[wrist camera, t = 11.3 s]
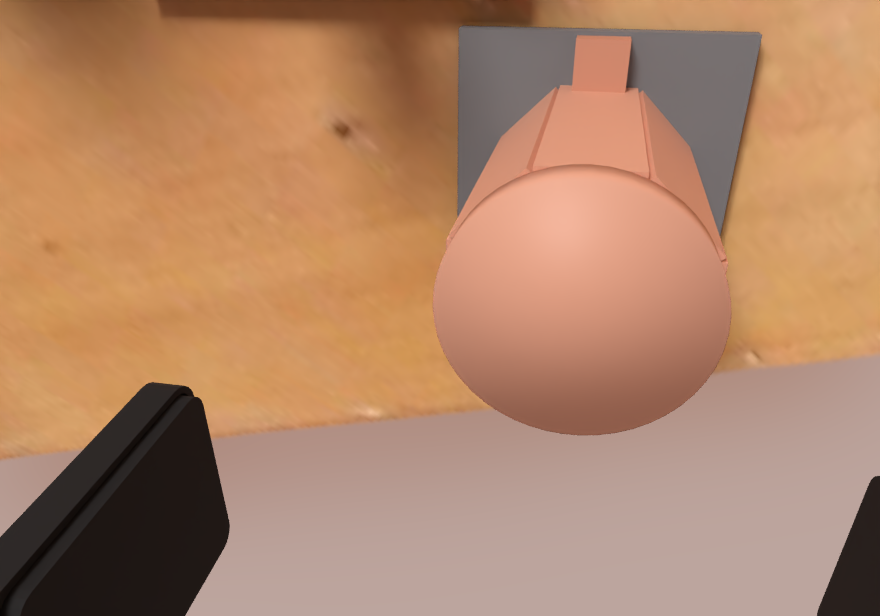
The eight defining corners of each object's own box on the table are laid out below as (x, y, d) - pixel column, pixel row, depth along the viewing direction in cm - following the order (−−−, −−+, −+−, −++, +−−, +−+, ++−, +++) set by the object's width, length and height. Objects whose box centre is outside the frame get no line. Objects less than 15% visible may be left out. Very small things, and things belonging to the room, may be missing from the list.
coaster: (460, 274, 27) (457, 281, 26) (462, 25, 22) (458, 28, 22) (703, 297, 25) (705, 305, 24) (758, 32, 21) (762, 35, 20)
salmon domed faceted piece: (499, 33, 22) (430, 99, 13) (714, 38, 20) (780, 115, 12) (490, 292, 26) (434, 459, 18) (666, 309, 25) (690, 496, 17)
